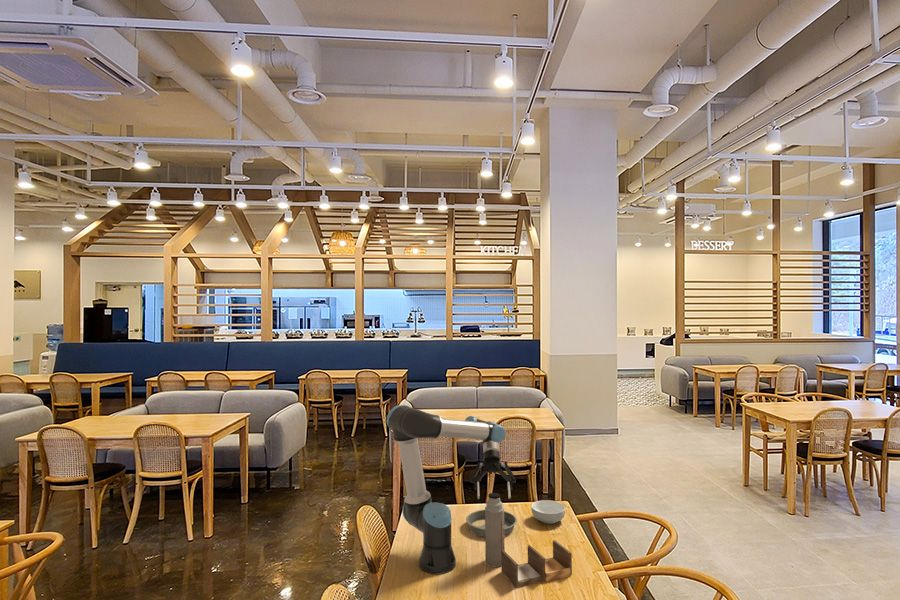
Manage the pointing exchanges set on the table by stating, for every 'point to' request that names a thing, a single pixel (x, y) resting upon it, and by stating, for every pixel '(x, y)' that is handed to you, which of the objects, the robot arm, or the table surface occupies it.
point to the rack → (537, 566)
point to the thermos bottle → (494, 530)
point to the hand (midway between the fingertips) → (494, 497)
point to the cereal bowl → (548, 511)
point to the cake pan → (479, 515)
